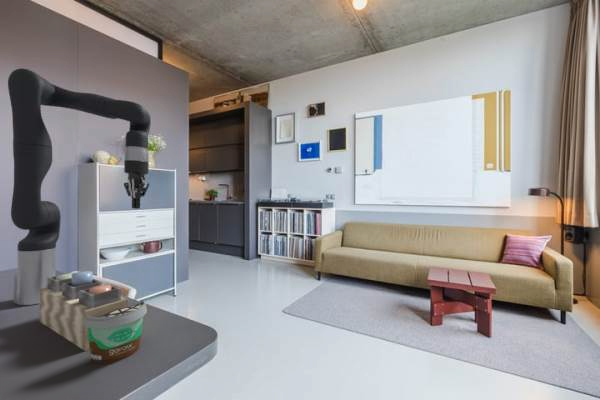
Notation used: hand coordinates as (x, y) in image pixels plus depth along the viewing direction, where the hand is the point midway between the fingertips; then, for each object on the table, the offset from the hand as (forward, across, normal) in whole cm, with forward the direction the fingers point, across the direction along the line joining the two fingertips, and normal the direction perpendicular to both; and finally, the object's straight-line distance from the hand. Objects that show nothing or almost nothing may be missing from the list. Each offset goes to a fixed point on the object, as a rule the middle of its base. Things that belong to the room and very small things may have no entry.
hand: (135, 208), depth 99 cm
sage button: (+22, +5, -22) cm, 31 cm away
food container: (+31, +37, -22) cm, 53 cm away
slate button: (+20, +15, -22) cm, 33 cm away
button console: (+31, +15, -22) cm, 40 cm away
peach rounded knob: (+22, +25, -21) cm, 39 cm away
